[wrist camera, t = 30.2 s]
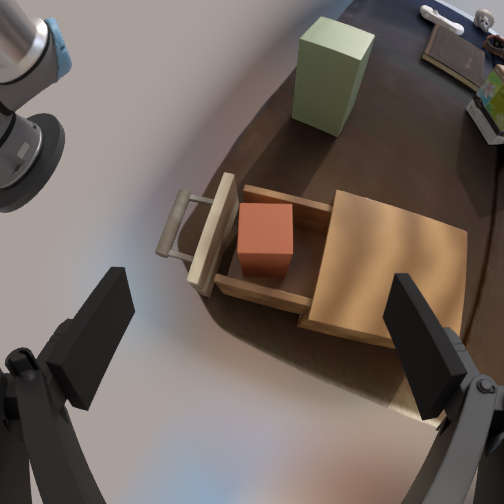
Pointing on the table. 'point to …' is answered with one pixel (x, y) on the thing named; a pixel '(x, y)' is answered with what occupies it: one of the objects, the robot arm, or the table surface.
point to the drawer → (216, 236)
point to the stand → (329, 73)
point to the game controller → (440, 20)
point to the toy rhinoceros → (483, 20)
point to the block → (265, 239)
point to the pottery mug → (495, 45)
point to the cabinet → (383, 268)
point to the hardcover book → (455, 57)
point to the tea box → (490, 107)
